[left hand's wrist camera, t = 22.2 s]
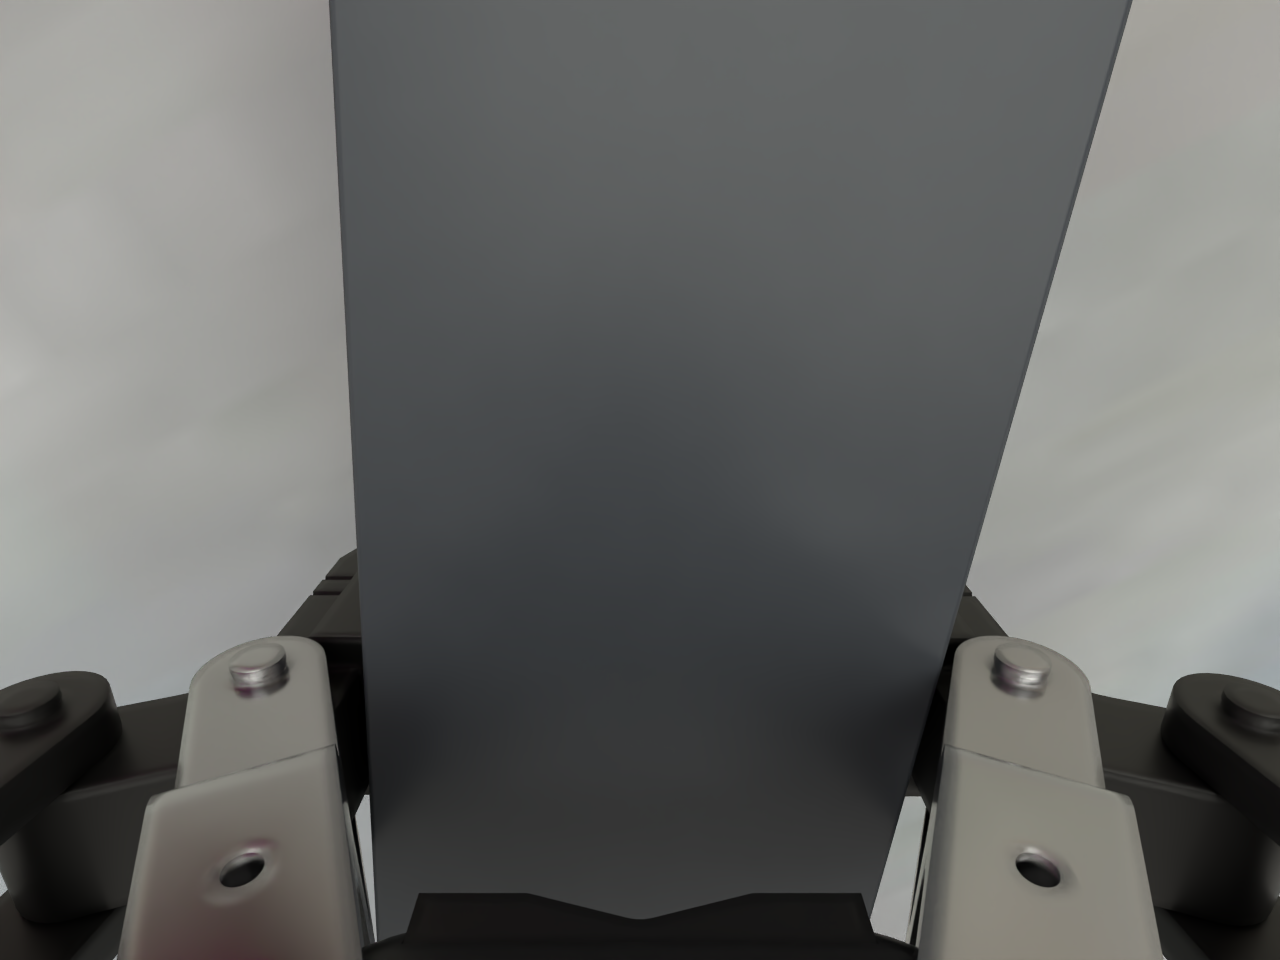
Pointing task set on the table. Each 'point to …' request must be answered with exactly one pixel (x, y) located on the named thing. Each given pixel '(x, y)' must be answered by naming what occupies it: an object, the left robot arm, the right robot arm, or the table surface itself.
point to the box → (681, 416)
